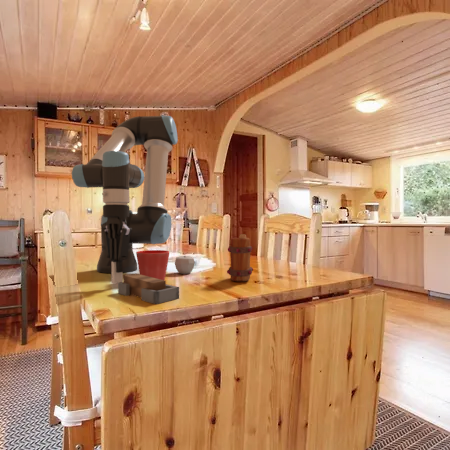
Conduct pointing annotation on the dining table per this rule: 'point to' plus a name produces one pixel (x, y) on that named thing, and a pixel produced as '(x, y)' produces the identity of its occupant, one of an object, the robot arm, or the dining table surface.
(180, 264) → the apple
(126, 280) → the brown rectangular block
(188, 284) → the dining table surface
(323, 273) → the dining table surface
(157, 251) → the flower pot
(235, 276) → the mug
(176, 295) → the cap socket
